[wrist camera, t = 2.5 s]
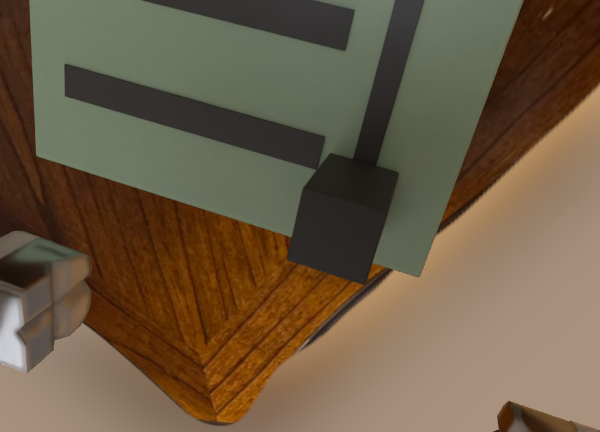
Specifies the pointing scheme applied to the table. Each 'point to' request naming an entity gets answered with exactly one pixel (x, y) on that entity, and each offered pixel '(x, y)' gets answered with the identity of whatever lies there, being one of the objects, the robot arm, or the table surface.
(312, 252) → the toaster slider
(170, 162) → the toaster
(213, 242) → the table surface
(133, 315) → the table surface
